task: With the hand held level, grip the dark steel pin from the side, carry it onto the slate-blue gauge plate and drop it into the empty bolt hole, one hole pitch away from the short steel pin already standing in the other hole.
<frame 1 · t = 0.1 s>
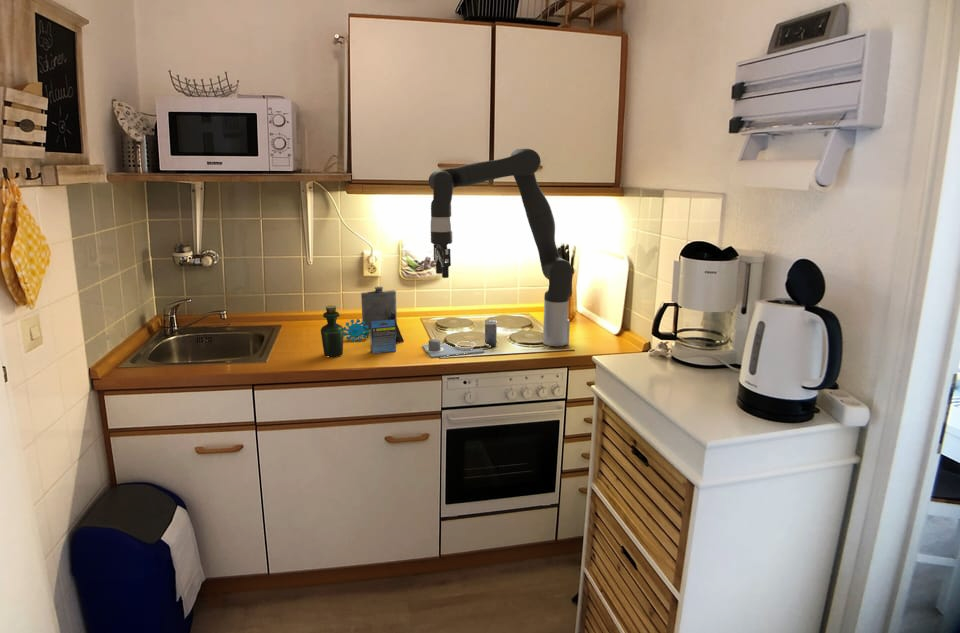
hand: (442, 275, 224), 29 cm above the countertop, tool pointing down, fingers open, 8 cm apart
potion bottle: (333, 355, 229), on the countertop
steel pin: (490, 346, 241), on the countertop
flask: (380, 329, 263), on the countertop
door stopper: (390, 341, 247), on the countertop
gauge plate: (452, 349, 236), on the countertop
blue virus model: (357, 340, 248), on the countertop
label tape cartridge: (383, 351, 234), on the countertop
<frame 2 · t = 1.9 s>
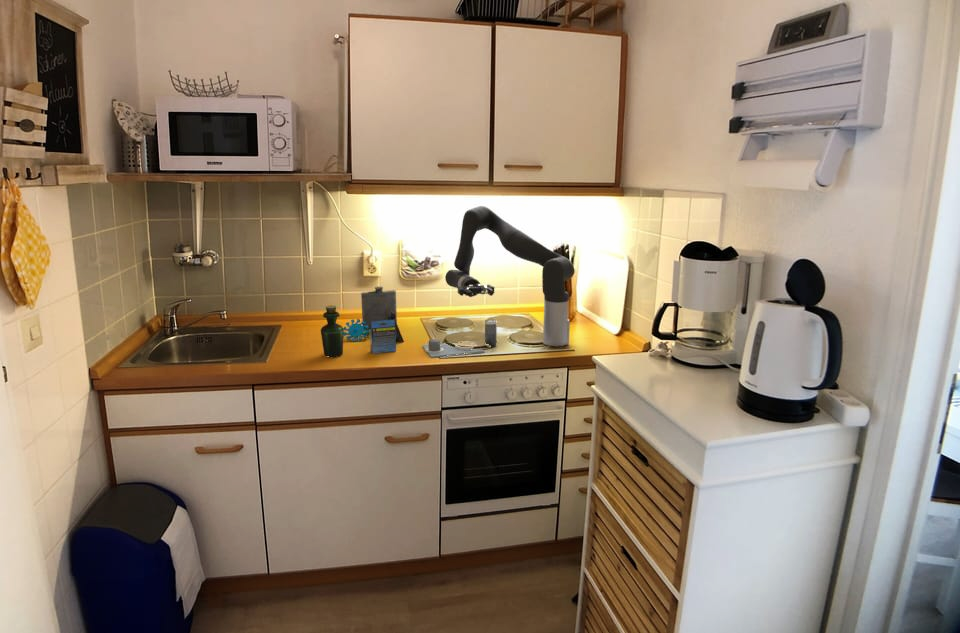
hand: (481, 293, 246), 18 cm above the countertop, tool horizontal, fingers open, 8 cm apart
nothing on the countertop moved.
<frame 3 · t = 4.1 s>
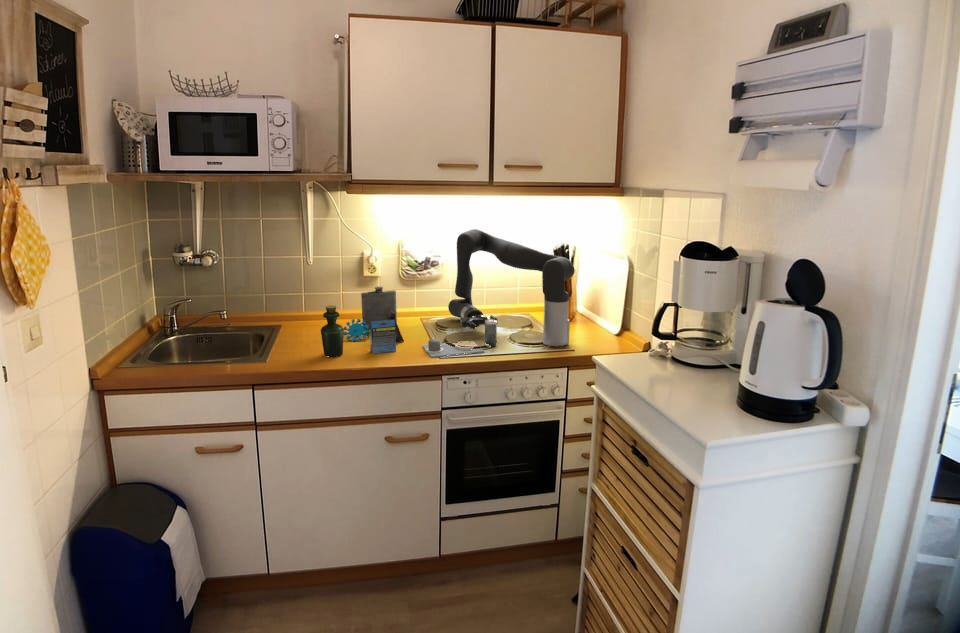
hand: (484, 325, 246), 6 cm above the countertop, tool horizontal, fingers open, 8 cm apart
nothing on the countertop moved.
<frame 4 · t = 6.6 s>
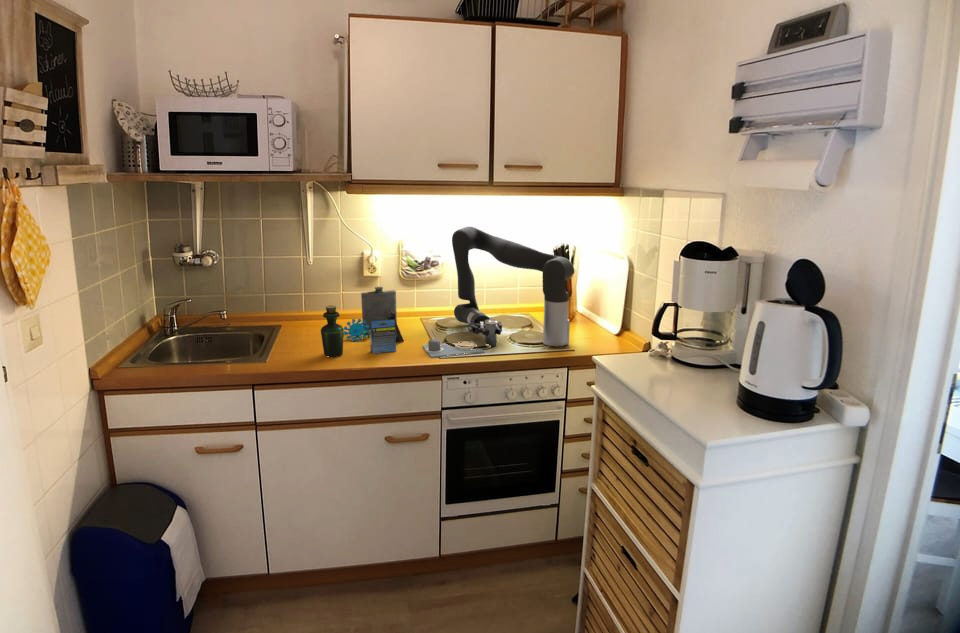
hand: (493, 332, 237), 6 cm above the countertop, tool horizontal, fingers closed on steel pin, 4 cm apart
steel pin: (490, 346, 241), on the countertop, touching gripper
everything else where it was.
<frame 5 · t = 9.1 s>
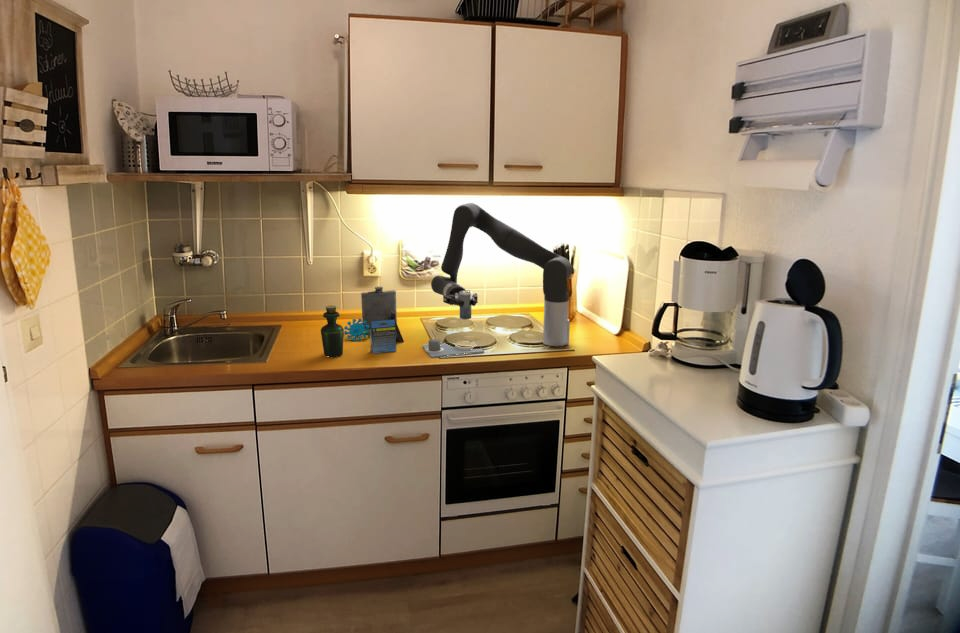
hand: (467, 303, 231), 18 cm above the countertop, tool horizontal, fingers closed on steel pin, 4 cm apart
steel pin: (465, 317, 235), point 12 cm above the countertop, touching gripper
everything else where it was.
when the fingers open (8 cm above the countertop, at t = 11.9 s): steel pin drops 1 cm, resting on gauge plate.
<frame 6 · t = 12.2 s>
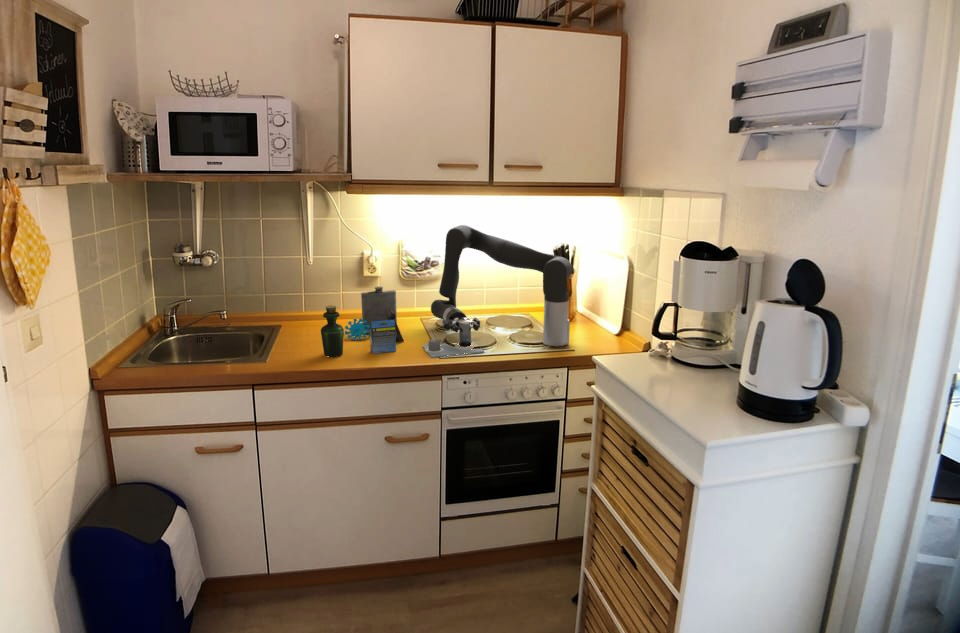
hand: (467, 329, 234), 8 cm above the countertop, tool horizontal, fingers open, 7 cm apart
steel pin: (465, 346, 238), point 1 cm above the countertop, touching gauge plate
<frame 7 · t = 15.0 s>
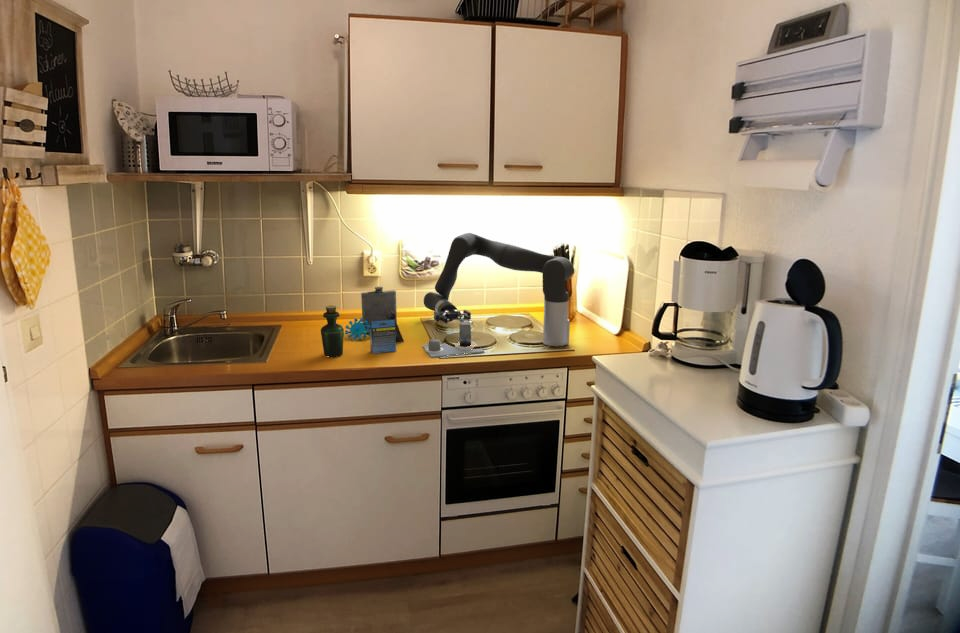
hand: (457, 320, 245), 8 cm above the countertop, tool horizontal, fingers open, 8 cm apart
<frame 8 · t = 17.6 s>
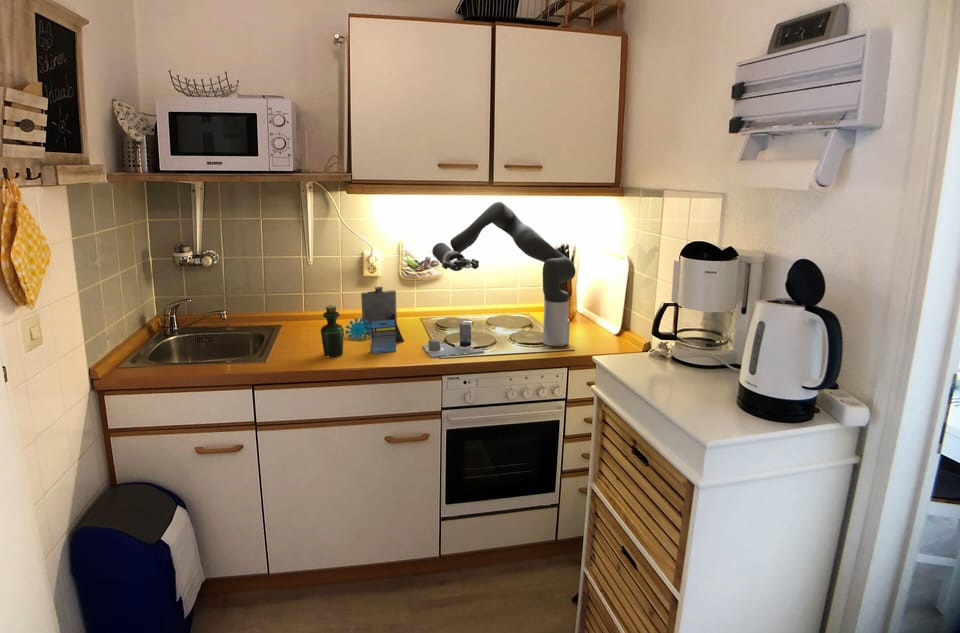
hand: (465, 267, 247), 28 cm above the countertop, tool horizontal, fingers open, 8 cm apart
at the end: steel pin 0.1 cm from the target spot on the gauge plate, point 0.7 cm above the gauge plate's base; steel pin tilted 0°; the gripper is holding nothing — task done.
